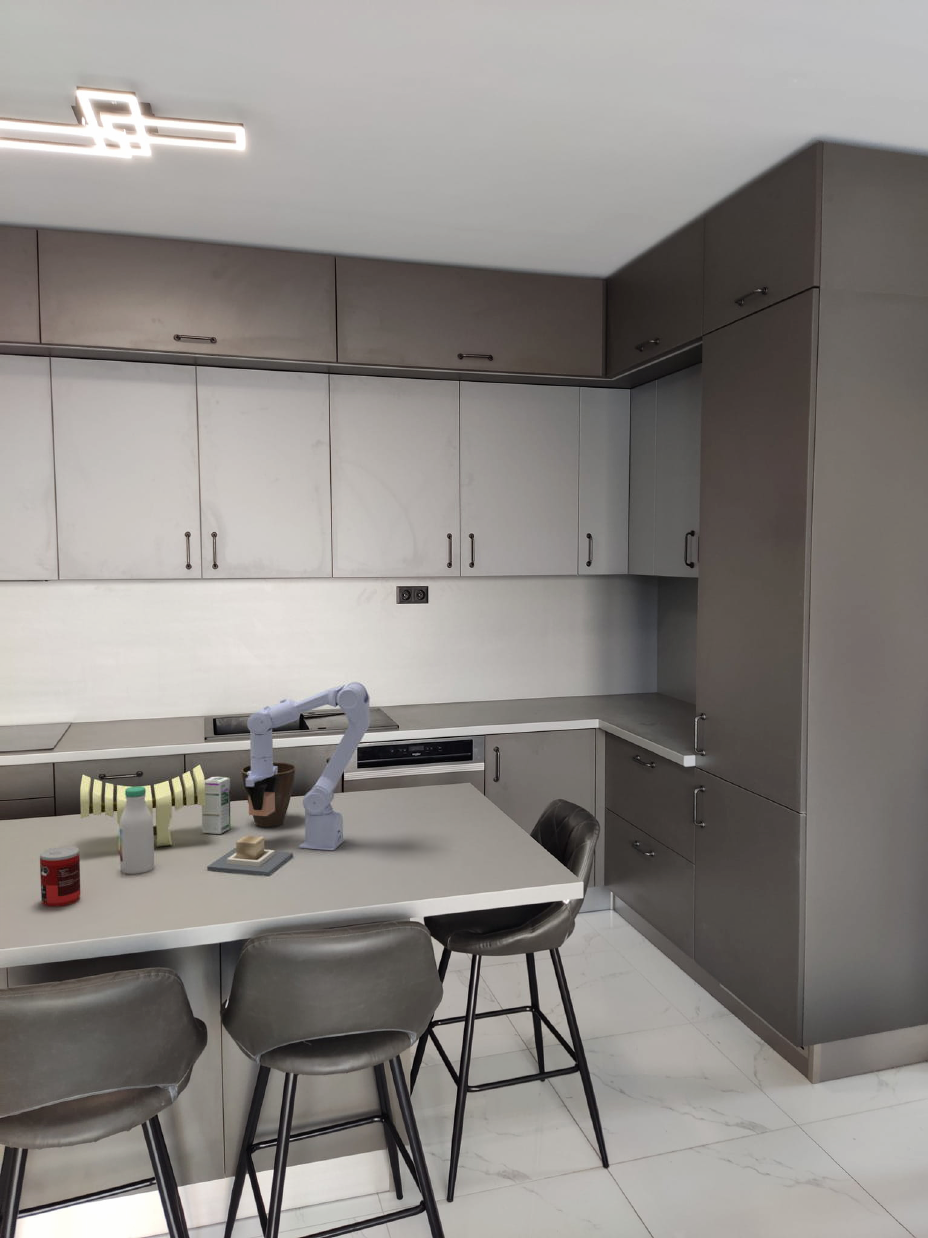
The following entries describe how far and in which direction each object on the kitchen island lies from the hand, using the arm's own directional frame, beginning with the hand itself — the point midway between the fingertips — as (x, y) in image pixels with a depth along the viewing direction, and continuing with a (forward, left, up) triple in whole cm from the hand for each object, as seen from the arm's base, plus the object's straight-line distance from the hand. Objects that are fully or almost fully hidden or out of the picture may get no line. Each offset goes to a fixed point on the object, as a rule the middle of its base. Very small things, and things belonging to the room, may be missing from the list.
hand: (262, 806), depth 231 cm
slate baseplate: (-4, +15, -10) cm, 18 cm away
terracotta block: (0, 0, -2) cm, 2 cm away
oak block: (-4, +15, -9) cm, 18 cm away
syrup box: (+17, -6, -10) cm, 21 cm away
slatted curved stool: (+31, +6, -10) cm, 33 cm away
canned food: (+26, +46, -10) cm, 53 cm away
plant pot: (+6, -16, -10) cm, 20 cm away
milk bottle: (+21, +25, -10) cm, 34 cm away
